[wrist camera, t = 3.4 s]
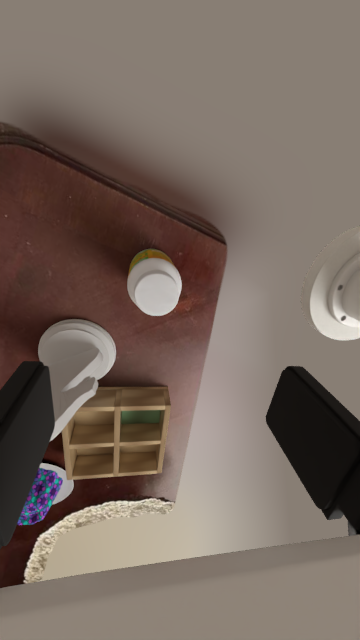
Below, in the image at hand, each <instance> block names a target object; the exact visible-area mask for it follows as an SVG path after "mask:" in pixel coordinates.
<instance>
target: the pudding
mask: <svg viewBox="0 0 360 640" xmlns="http://www.w3.org/2000/svg"><path fill="white" fill-rule="evenodd" d="M73 486H74V485H73V480H67V477H66V471H65V470H63V469H62V468H59V467H57V466H54V465H51V464H45V463H41V464H40V467H39V469H38V472H37V474H36V477H35V479H34V482H33V484H32V487H31V490H30V492H29V495H28V497H27V500H26V502H25V505H24V507H23V510H22V512H21V515H20V517H19V520H18V522H17V524H18V525H25V524H27V525H32V524H35V523H36V522H38V521H41V520H42V519H43V518H44V517H45V516H46V514H47V513H48V511H49V509H50V507H51V505H52V504H55V503H58V502H60V501H62V500H63V499H65V498H66V497H67V496H68V495H69V494H70V493H71V491H72V490H73Z"/></svg>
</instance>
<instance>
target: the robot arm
mask: <svg viewBox="0 0 360 640" xmlns="http://www.w3.org/2000/svg"><path fill="white" fill-rule="evenodd" d="M328 306H329V310H330V313H331V315H332V316H333V318H334V319H335V320H336V321H338V322H339V323H341V324H343V325H345V326H348V327H356V328H357V327H360V253H358V254H357V255H355V256H354V257H353V258H351V259H350V260H349V261H348V262H347V263H346V264H345V265H344V266H343V267H342V268H341V270H340V271H339V272H338V274H337V275H336V277H335V279H334V280H333V283H332V285H331V287H330V291H329V295H328ZM266 422H267V425H268V426H269V428H270V430H271V431H272V433H273V435H274V436H275V438H276V440H277V441H278V443H279V445H280V447H281V448H282V450H283V452H284V453H285V455H286V456H287V458H288V460H289V462H290V463H291V465H292V466H293V468H294V470H295V471H296V473H297V475H298V477H299V478H300V480H301V482H302V483H303V485H304V487H305V488H306V490H307V492H308V493H309V495H310V496H311V498H312V500H313V501H314V503H315V505H316V506H317V507H318V508H319V509H321V510H322V512H323V513H324V515H325V517H326V518H327V520H331V519H339V518H341V517H342V516H343V515H345V517H346V518H347V520H348V532H349V536H346V537H338V538H331V539H323V540H316V541H310V542H301V543H294V544H288V545H281V546H273V547H266V548H259V549H252V550H245V551H238V552H231V553H224V554H217V555H210V556H203V557H196V558H190V559H182V560H176V561H169V562H162V563H155V564H148V565H142V566H136V567H128V568H122V569H115V570H108V571H101V572H95V573H88V574H82V575H76V576H70V577H64V578H58V579H52V580H46V581H40V582H34V583H28V584H22V585H16V586H11V587H5V588H1V589H0V640H360V421H359V420H358V419H357V418H356V417H355V416H354V415H352V413H350V412H349V411H348V410H347V409H346V408H345V407H344V406H343V405H342V404H341V403H340V402H339V401H338V400H337V399H336V398H335V397H334V396H333V395H332V394H330V392H328V391H327V390H326V389H325V388H324V387H323V386H322V385H321V384H320V383H319V382H318V381H317V380H316V379H315V378H314V377H313V376H312V375H311V374H310V373H309V372H308V371H306V370H305V369H304V368H303V367H300V366H288V367H287V368H286V369H285V370H283V371H282V373H281V376H280V379H279V382H278V384H277V387H276V390H275V393H274V396H273V398H272V401H271V404H270V406H269V409H268V412H267V415H266ZM54 427H55V417H54V408H53V399H52V390H51V381H50V372H49V367H48V366H44V364H43V362H35V361H24V362H22V363H21V365H20V366H19V367H18V368H17V370H16V371H15V372H14V373H13V375H12V376H11V377H10V379H9V380H8V381H7V382H6V384H5V385H4V386H3V387H2V389H1V390H0V549H1V546H6V545H7V544H8V543H9V541H10V540H11V537H12V535H13V533H14V530H15V528H16V525H17V522H18V520H19V517H20V515H21V512H22V510H23V507H24V505H25V502H26V500H27V497H28V495H29V492H30V490H31V487H32V484H33V482H34V479H35V477H36V474H37V472H38V469H39V467H40V464H41V462H42V459H43V457H44V454H45V452H46V449H47V446H48V444H49V441H50V439H51V436H52V434H53V431H54Z"/></svg>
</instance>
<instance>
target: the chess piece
mask: <svg viewBox="0 0 360 640" xmlns="http://www.w3.org/2000/svg"><path fill="white" fill-rule="evenodd" d="M38 356H39V359H40V362H43V364H44V366H48V367H49V372H50V381H51V390H52V399H53V408H54V417H55V427H54V431H53V434H52V436H51V439H50V441H51V440H53V439H54V438H55V437H56V436H57V435H58V434H59V433H60V432H61V431H62V430H63V429H64V428H65V426H66V425H67V423H68V422H69V421H70V419H71V418H72V417H73V416H74V414H75V412H76V411H77V410H78V409H79V408H80V407H81V406H82V405H83V404H84V403H85V402H86V401H87V400H88V399H89V398H91V397H93V396H94V395H95V394H96V390H97V388H98V382H97V380H98V379H100V378H102V377H103V376H105V375H106V374H107V373H108V372H109V370H110V369H111V367H112V366H113V364H114V361H115V357H116V347H115V344H114V341H113V339H112V337H111V336H110V335H109V333H108V332H107V331H106V330H105V329H103V328H102V327H101V326H99V325H97V324H95V323H93V322H90V321H87V320H82V319H68V320H63V321H60V322H58V323H56V324H54V325H52V326H51V327H49V328H48V329H47V330H46V331H45V333H44V334H43V335H42V337H41V339H40V342H39V347H38ZM50 441H49V442H50Z"/></svg>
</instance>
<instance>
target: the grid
mask: <svg viewBox="0 0 360 640" xmlns="http://www.w3.org/2000/svg"><path fill="white" fill-rule="evenodd" d="M170 408H171V404H170V397H169V391H168V387H98V388H97V390H96V394H95V395H94V396H93V397H91V398H89V399H88V400H87V401H86V402H85V403H84V404H83V405H82V406H81V407H80V408H79V409H78V410H77V411H76V412H75V414H74V416H73V417H72V418H71V419H70V421H69V422H68V423H67V425H66V426H65V428H64V429H63V430H62V439H63V448H64V458H65V467H66V477H67V480H75V479H88V478H101V477H116V476H130V475H143V474H156V473H161V472H162V465H163V458H164V451H165V444H166V436H167V429H168V422H169V415H170Z"/></svg>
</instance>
